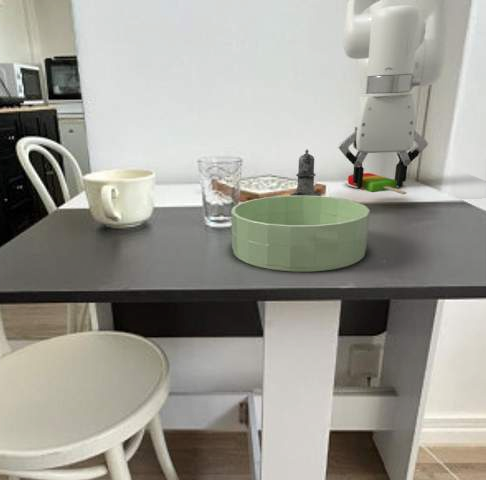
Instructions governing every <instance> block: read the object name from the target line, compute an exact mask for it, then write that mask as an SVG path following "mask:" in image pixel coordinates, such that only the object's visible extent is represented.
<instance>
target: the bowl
mask: <svg viewBox="0 0 486 480" xmlns="http://www.w3.org/2000/svg"><path fill="white" fill-rule="evenodd" d="M230 213H231V214H230V216H231V218H230V219H231V222H230V223H231V249H232V254H233V255H234V256H235V257H236V258H237V259H239V260H240V261H242V262H244V263H246V264H248V265H252V266H255V267H258V268H262V269H268V270H272V271H273V270H274V271H282V272H298V273H306V272H308V273H311V272H323V271H333V270H336V269H342V268H346V267H349V266H352V265H354V264H356V263H358V262H360V261H361V260H362V259H363V258H364V257H365V255H366V250H367V247H368V235H369V225H370V214H371V210H370V209H369V208H368V206H366V205H365V204H362V203H360V202H359V201H355V200H350V199H346V198H341V197H333V196H326V195H325V196H324V195H321V196H306V195H297V196H289V195H277V196H266V197H259V198H254V199H250V200H247V201H243V202H240V203H238V204H236V205H234V206H232V208H231V211H230Z"/></svg>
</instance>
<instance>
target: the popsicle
mask: <svg viewBox="0 0 486 480" xmlns="http://www.w3.org/2000/svg"><path fill="white" fill-rule="evenodd" d="M347 180H348V184H350V185H352V186H355V187H357V186H356V185H355V183H353V174H349V175H348V176H347ZM355 187H354V188H355ZM360 189H361V190H364V191H367V192H370V193H378V192H385V191H391V192H395V193H397V194H402V195H406V194H407V191H404V190H402V189H399V188H398V187H397V181H396V180H393V179H389V178H386V177H382V176H379V175H375V174H371V173H363V183H362V187H361V188H360Z"/></svg>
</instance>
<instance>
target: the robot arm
mask: <svg viewBox="0 0 486 480" xmlns="http://www.w3.org/2000/svg"><path fill="white" fill-rule="evenodd" d="M368 8H369V12H368V13H364V12H365V11H366V10H367V9H368ZM447 10H448V4H447V0H347V4H346V8H345V14H344V24H343V25H344V26H343V33H342V35H343V36H342V46H343V51H344V54H345V55H346V57H348V58H350V59H354V60H358V79H359V81H358V82H359V101H358V104H357V105H358V106H357V108H356V109H357V110H356V115H355V121H354V129H353V132H352V133H351V134H350V135H349V136H348V137H346V138H345V139H344V140H343V141H342V142H340V144H338V147H337V148H338V149H339V151H340V152H341V153H342V154H343V156H344V157H345V158H346V159H347V160H348V161H349V162H350V163H351V164H352V165H353V173H352V175H353V183H355V185H356V186H357V187H355V186H352V185H350V184H348V179H347V181H346V182H347V186H349V187H351V188H356V189H361V187H362V183H363V173H371V174H375V175H379V176H382V177H386V178H389V179H393V180H396V181H397V188H402V187H403V185H404V183H405V182H406V180H407V173H408V166H409V165H411V162H413V161H414V160H415V159H416V158H417V157H418V156H419V155H420V153H422V152H423V151H424V150H425V149H426V148H427V147H428V146H429V142H428V141H427V140H426V139H425V138H424V137H423V136H422V135H420V134H419V132H417V131H416V130H415V122H416V107H415V105H416V104H415V94H414V93H411V91H412V90H413V88H415V87H416V88H417V87H419V88H420V87H428V86H432V85H434V84H436V83H437V82H438V81H439V79H440V77H441V76H442V72H443V70H444V64H445V51H446V36H447V33H446V32H447V17H448V14H447V13H448V11H447ZM414 142H415V146H414V147H413V144H414ZM351 145H352V147H353V148H354V149H355V154H354V153H353V152H351V150H350V149H349V147H350V146H351ZM412 147H413V148H412ZM411 148H412V149H411Z"/></svg>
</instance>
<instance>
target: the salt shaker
mask: <svg viewBox="0 0 486 480" xmlns="http://www.w3.org/2000/svg"><path fill="white" fill-rule="evenodd" d="M309 152H310V151H309V150H308V149H305V151H304V154H302V155H300V156H299V158H298V171H297V173H296V177H297V185H296V190H295V191H294V192H292V193H290V194H289V195H288V196H297V195H306V196H322V194H321V193H319V192H317V191H316V189H315V186H314V184H315V181H314V180H315V177H316V173H315V157H314V156H313V155H312V154H311V153H309Z"/></svg>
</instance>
